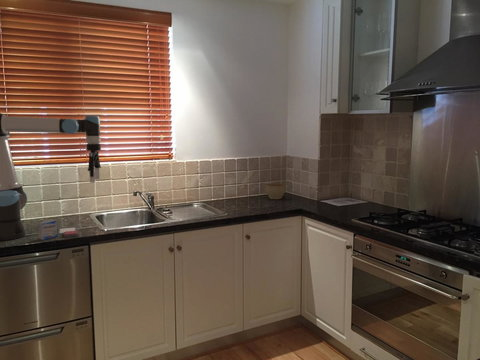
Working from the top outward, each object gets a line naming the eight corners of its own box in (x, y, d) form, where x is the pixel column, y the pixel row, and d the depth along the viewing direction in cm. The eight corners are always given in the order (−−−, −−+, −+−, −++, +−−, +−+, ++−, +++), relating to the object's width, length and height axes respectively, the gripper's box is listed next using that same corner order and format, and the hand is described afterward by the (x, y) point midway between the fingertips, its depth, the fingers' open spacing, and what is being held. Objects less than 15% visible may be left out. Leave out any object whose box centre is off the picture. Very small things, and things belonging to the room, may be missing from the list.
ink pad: (63, 237, 214) (63, 234, 214) (64, 234, 220) (64, 231, 220) (78, 236, 216) (78, 233, 216) (78, 232, 223) (78, 230, 223)
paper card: (57, 234, 220) (57, 233, 220) (58, 228, 232) (58, 227, 232) (77, 232, 223) (76, 231, 223) (77, 227, 235) (77, 226, 235)
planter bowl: (286, 196, 325) (286, 183, 323) (285, 200, 309) (285, 186, 307) (265, 196, 327) (265, 182, 325) (264, 200, 311) (264, 185, 310)
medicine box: (43, 240, 209) (41, 223, 208) (38, 239, 212) (37, 222, 210) (57, 236, 216) (56, 220, 214) (52, 235, 218) (51, 219, 217)
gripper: (95, 144, 222) (97, 183, 225) (104, 142, 247) (105, 177, 250) (81, 144, 221) (83, 184, 224) (91, 142, 246) (92, 178, 248)
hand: (95, 180), depth 237 cm, fingers open, 13 cm apart
